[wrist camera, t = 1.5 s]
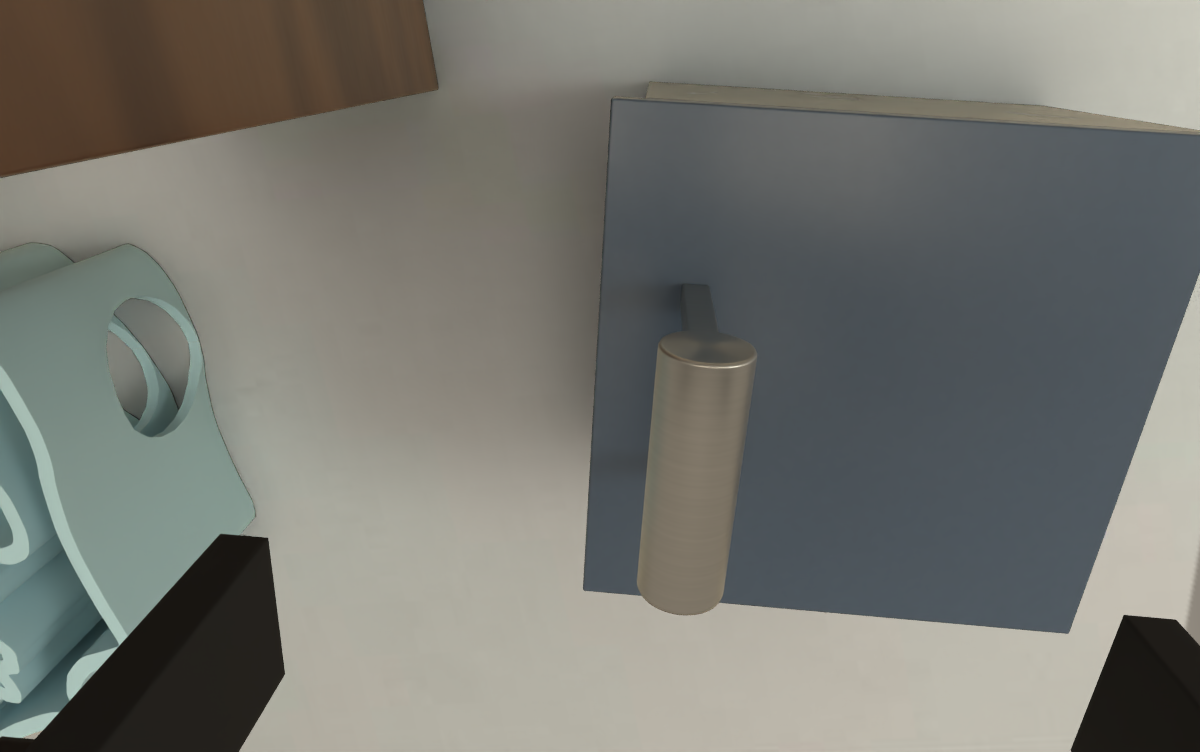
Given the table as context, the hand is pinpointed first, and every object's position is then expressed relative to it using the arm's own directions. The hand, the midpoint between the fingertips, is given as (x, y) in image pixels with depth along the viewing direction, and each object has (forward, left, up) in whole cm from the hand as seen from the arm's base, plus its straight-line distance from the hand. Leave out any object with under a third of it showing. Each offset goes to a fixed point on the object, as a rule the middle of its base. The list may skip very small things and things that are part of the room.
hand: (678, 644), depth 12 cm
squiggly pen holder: (+24, -9, -21) cm, 33 cm away
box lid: (-4, +4, -11) cm, 12 cm away
